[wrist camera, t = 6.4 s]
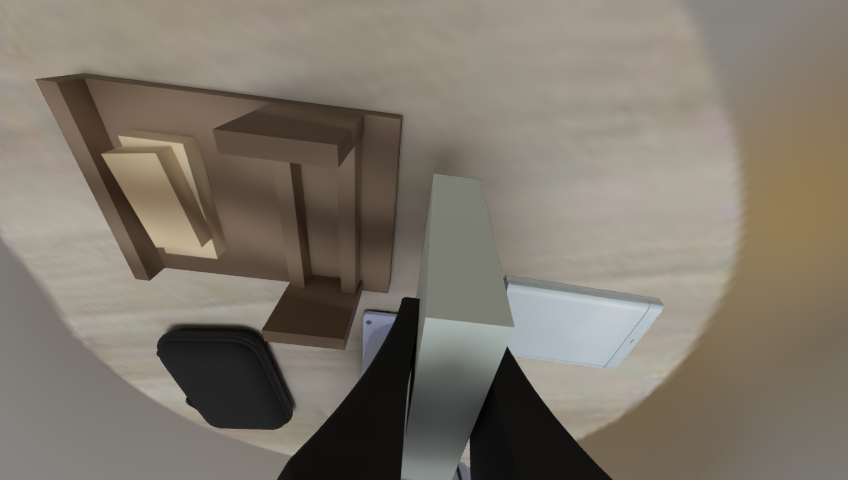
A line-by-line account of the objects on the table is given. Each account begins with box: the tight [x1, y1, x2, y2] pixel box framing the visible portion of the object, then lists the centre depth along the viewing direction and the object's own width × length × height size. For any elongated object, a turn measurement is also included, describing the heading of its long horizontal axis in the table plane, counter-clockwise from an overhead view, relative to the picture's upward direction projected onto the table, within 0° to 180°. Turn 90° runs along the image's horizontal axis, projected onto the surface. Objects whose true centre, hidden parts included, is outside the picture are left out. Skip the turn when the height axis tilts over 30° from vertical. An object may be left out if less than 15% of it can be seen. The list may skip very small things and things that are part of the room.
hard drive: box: [504, 275, 664, 369], centre depth 27 cm, size 2×8×12 cm
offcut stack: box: [101, 130, 227, 259], centre depth 20 cm, size 8×4×2 cm, turn 173°
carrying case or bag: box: [157, 329, 293, 430], centre depth 32 cm, size 11×3×15 cm
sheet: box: [401, 174, 515, 480], centre depth 13 cm, size 9×2×8 cm, turn 173°
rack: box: [35, 73, 402, 350], centre depth 19 cm, size 13×18×6 cm
